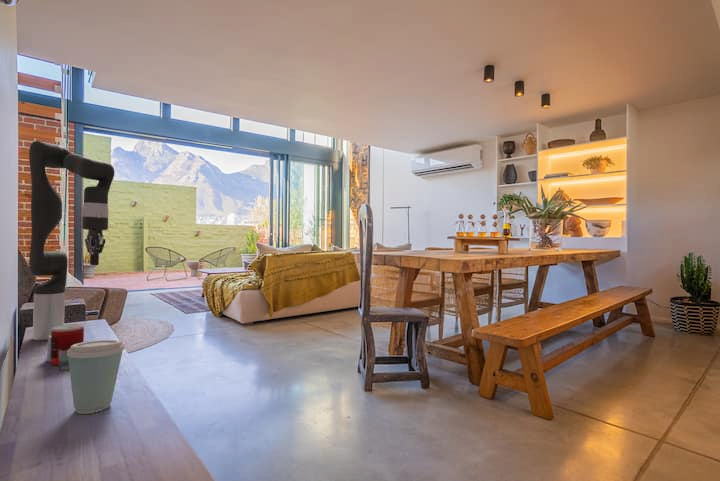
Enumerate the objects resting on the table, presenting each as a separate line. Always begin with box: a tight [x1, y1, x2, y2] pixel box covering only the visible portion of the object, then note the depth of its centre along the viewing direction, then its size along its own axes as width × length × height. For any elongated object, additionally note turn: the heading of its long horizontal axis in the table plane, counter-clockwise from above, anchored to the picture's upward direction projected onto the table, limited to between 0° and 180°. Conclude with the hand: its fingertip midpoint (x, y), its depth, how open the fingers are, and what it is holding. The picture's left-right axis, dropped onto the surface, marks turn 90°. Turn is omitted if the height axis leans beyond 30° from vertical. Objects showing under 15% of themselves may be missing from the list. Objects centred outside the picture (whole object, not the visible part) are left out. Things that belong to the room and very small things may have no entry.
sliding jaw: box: [46, 336, 51, 363], centre depth 121 cm, size 9×7×8 cm
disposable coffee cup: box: [67, 339, 125, 415], centre depth 84 cm, size 11×11×15 cm
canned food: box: [50, 323, 85, 367], centre depth 115 cm, size 8×8×11 cm
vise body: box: [58, 347, 70, 373], centre depth 111 cm, size 6×8×6 cm
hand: (94, 265), depth 133 cm, fingers closed
